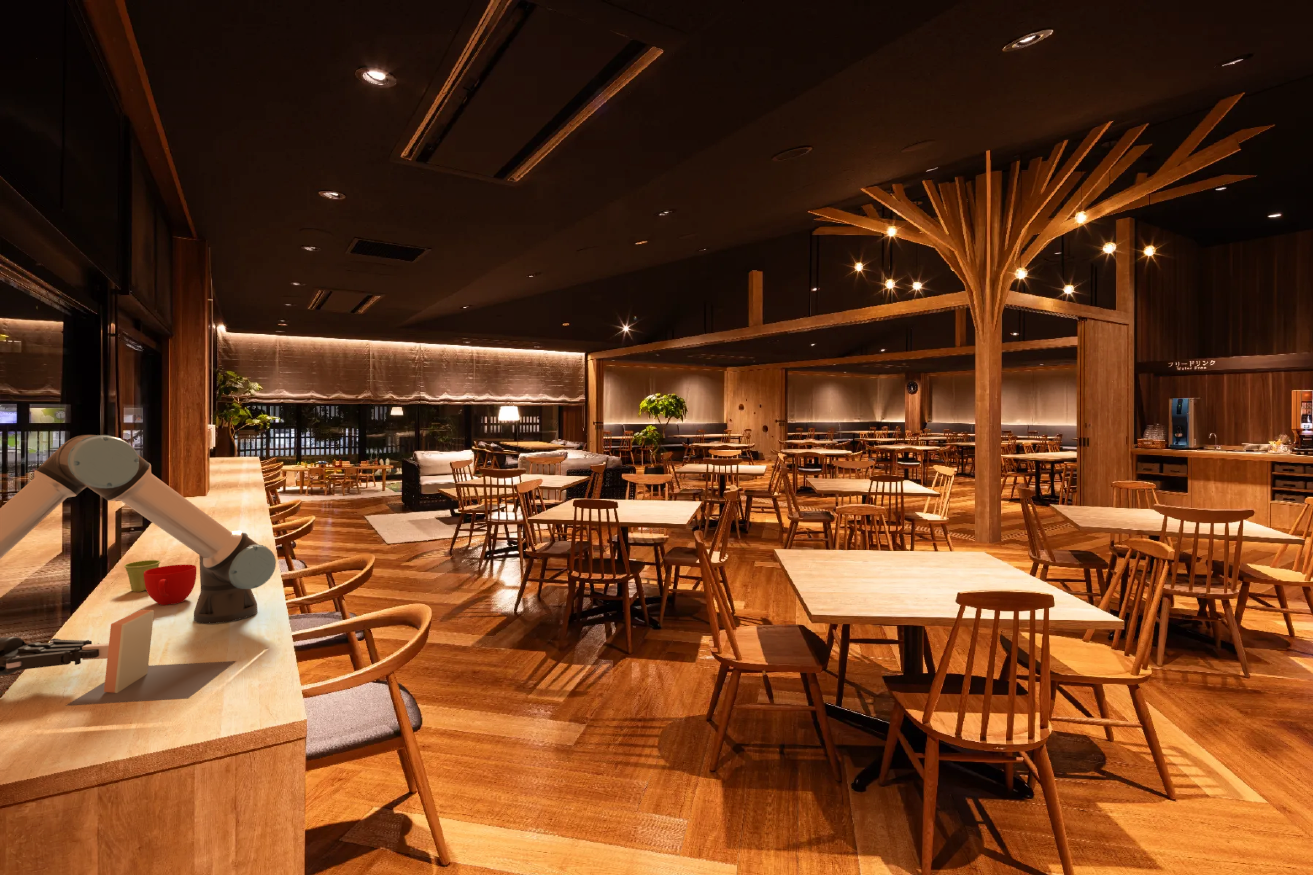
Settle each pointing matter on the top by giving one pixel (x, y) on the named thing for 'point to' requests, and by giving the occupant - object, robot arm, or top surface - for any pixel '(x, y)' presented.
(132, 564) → the plant pot
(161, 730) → the top surface
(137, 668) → the tile
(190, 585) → the ceramic cup
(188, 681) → the mat
